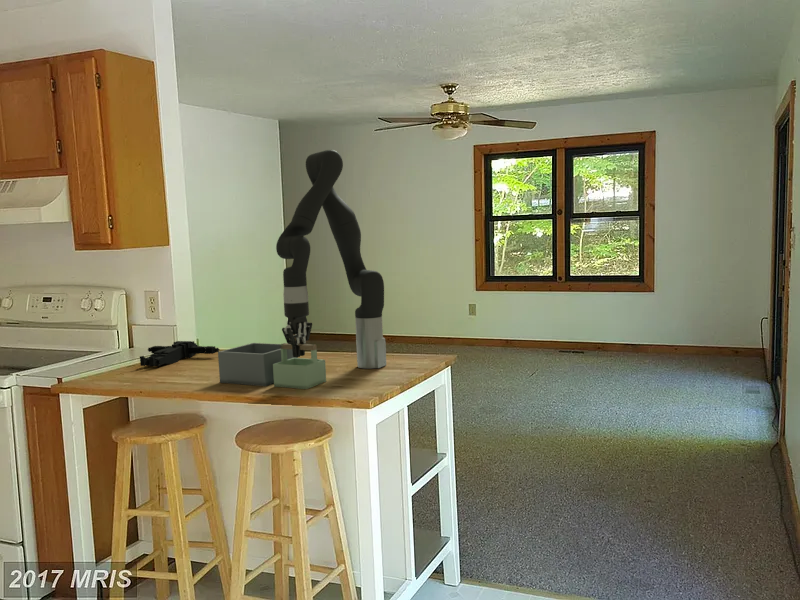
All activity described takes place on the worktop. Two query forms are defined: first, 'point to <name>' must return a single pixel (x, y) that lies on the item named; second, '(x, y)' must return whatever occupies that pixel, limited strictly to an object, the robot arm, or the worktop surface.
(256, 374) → the charcoal crate
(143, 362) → the toy
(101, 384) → the worktop surface
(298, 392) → the worktop surface
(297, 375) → the green basket
